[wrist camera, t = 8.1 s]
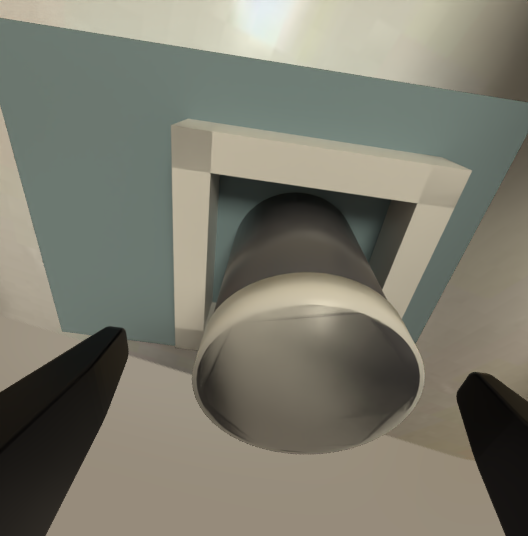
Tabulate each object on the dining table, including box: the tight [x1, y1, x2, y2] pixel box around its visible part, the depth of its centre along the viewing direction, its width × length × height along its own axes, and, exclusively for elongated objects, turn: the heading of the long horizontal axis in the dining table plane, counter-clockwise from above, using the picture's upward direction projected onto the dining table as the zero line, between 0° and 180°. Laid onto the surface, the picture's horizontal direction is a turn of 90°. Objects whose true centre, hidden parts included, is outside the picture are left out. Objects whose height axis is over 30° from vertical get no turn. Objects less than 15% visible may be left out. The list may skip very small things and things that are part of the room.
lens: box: [192, 192, 425, 454], centre depth 10 cm, size 5×5×7 cm
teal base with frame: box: [0, 18, 528, 351], centre depth 14 cm, size 18×13×6 cm
